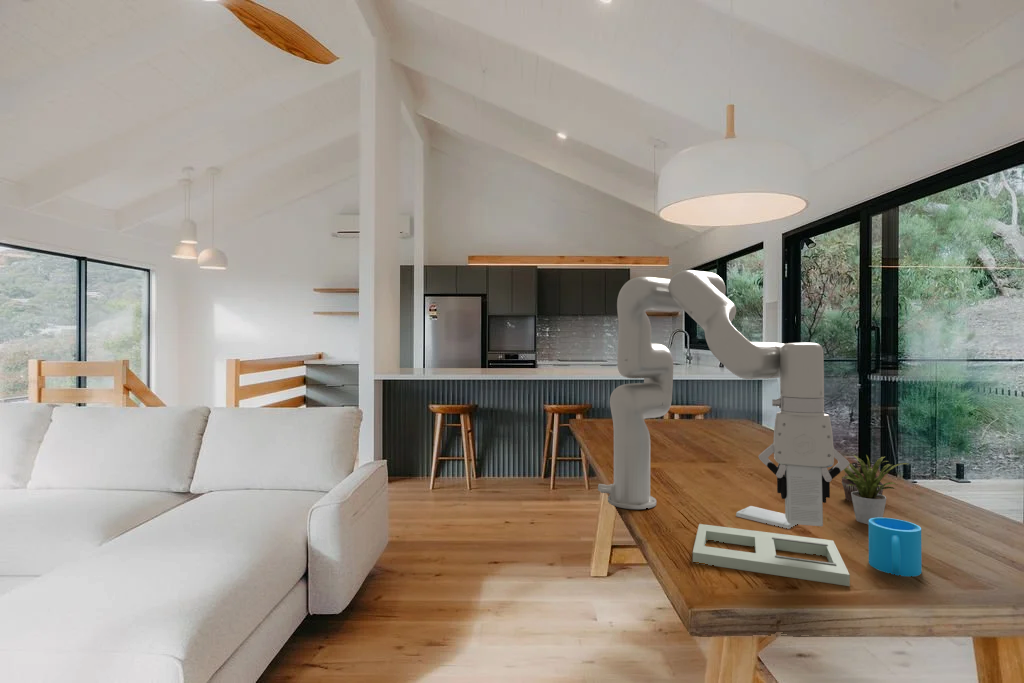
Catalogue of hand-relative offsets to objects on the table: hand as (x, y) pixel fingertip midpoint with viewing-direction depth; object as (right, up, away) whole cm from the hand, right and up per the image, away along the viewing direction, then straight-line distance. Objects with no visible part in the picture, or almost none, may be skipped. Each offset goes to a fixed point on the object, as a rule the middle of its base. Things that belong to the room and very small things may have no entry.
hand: (802, 498), depth 105 cm
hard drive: (+6, -13, +26) cm, 30 cm away
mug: (+15, -13, -4) cm, 20 cm away
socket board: (-6, -12, +3) cm, 14 cm away
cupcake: (+38, -13, +41) cm, 58 cm away
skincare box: (0, -5, 0) cm, 5 cm away
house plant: (+30, -13, +24) cm, 41 cm away
